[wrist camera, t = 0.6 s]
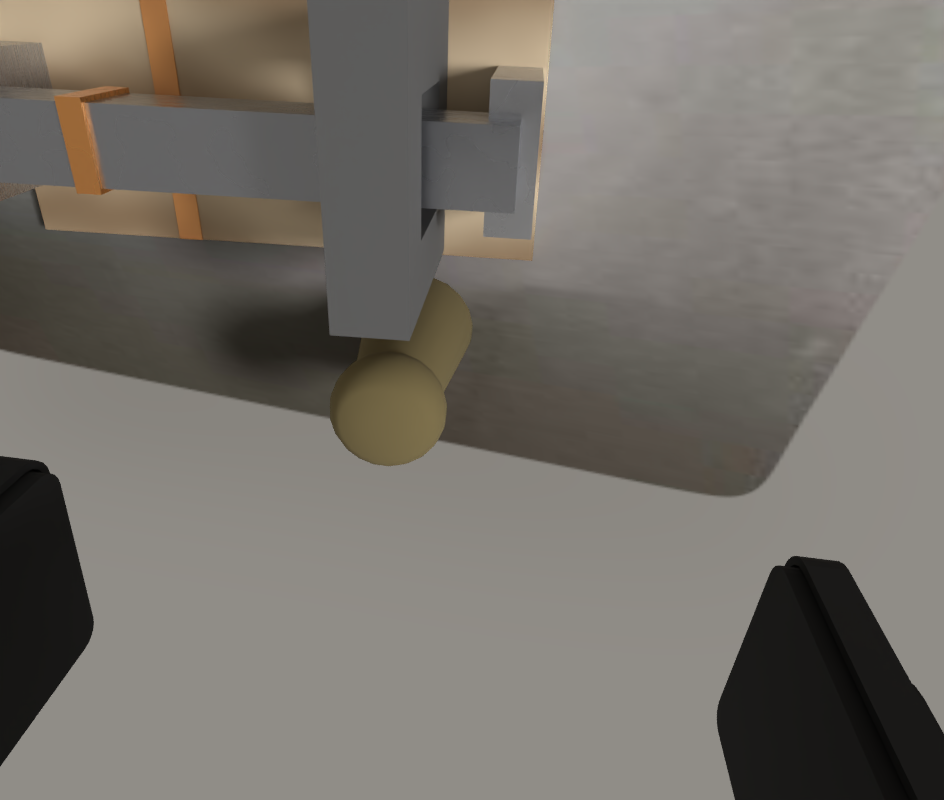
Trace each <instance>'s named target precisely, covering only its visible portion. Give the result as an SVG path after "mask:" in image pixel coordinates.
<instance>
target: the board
mask: <svg viewBox="0 0 944 800" xmlns="http://www.w3.org/2000/svg"><path fill="white" fill-rule="evenodd" d="M553 10H554V0H449V29H448V79H447V110H454V111H472V112H489V102H490V81H491V77H492V76H493V74H494V73H495V71H496V69H497V68H498V66H517V67H537V68H543V73H544V90H543V102H542V114H541V126H540V138H539V150H538V162H537V174H536V186H535V198H534V210H533V222H532V235H531V240H527V239H511V238H495V237H483V227H484V212H477V211H460V210H445V230H444V251H443V254H442V255H453V256H468V257H484V258H499V259H515V260H530V261H532V257H533V246H534V234H535V222H536V210H537V199H538V187H539V175H540V163H541V151H542V140H543V128H544V116H545V104H546V93H547V81H548V69H549V57H550V46H551V34H552V22H553ZM0 41H17V42H37V43H42V47H43V51H44V55H45V59H46V64H47V68H48V72H49V76H50V80H51V85H52V89H61V90H80V91H82V90H88V89H93V88H98V87H103V86H113V87H128V88H129V93H136V94H154V95H173V96H192V97H211V98H229V99H248V100H267V101H285V102H304V103H314V97H313V83H312V68H311V53H310V39H309V24H308V9H307V0H0ZM35 190H36V194H37V198H38V201H39V205H40V209H41V213H42V216H43V220H44V224H45V228H46V229H48V230H64V231H79V232H95V233H110V234H126V235H141V236H157V237H172V238H180V239H196V240H203V239H204V240H219V241H235V242H250V243H266V244H281V245H297V246H313V247H324V244H323V229H322V215H321V202H312V201H296V200H280V199H263V198H247V197H230V196H214V195H197V194H181V193H165V192H148V191H132V190H115V189H114V190H111V191H109V192H107V193H105V194H102V195H93V194H77V192H76V187H66V186H50V185H42V186H39V187H37V188H35Z"/></svg>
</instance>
